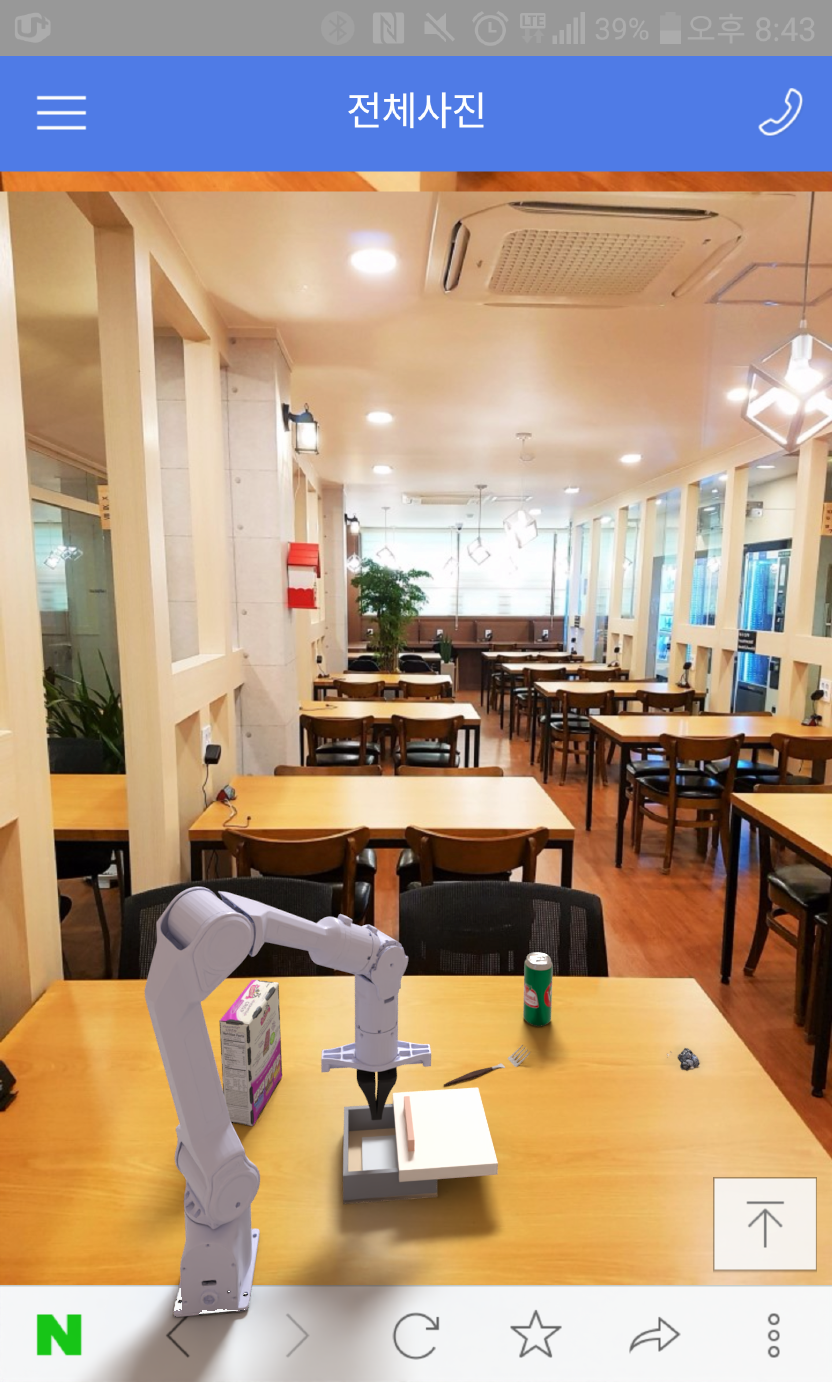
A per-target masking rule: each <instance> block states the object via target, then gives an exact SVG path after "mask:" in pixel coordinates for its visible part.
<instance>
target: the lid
mask: <svg viewBox="0 0 832 1382" xmlns="http://www.w3.org/2000/svg"><path fill="white" fill-rule="evenodd" d="M392 1104H393V1106H394V1118H395V1130H396V1142H397V1155H398V1167H399V1182H405V1181H418V1180H432V1179H437V1180H442V1179H443V1180H444V1179H455V1178H457V1179H458V1178H467V1177H468V1178H469V1177H483V1176H497V1175H498V1171H499V1170H498V1169H499V1168H498V1167H499V1162H498V1159H497V1156H496V1151H495V1148H494V1144H493V1139H492V1136H491V1132H490V1129H489V1125H488V1121H487V1117H486V1116H487V1115H486V1113H485V1109H484V1105H483V1102H482V1097H481V1094H480V1089H479V1087H468V1088H467V1087H466V1088H465V1087H464V1088H451V1089H449V1088H448V1089H434V1090H417V1091H402V1092H401V1091H400V1092H392Z"/></svg>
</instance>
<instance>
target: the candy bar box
mask: <svg viewBox="0 0 832 1382" xmlns="http://www.w3.org/2000/svg"><path fill="white" fill-rule="evenodd" d="M279 984H280V983H279V982H277V981H276V982H275V981H267V980H260V979H251V980H250V982H248V984H247V985H246V987H245V988H244V989H243V990H242V992H241V993H240V994H239V995H238V997H237V998H236V999H235V1000H234V1002H233V1003H232V1004H231V1005H230V1006H229V1008H228V1009H227V1010H226V1012H224V1014H223V1016H221V1018H220V1019H219V1037H220V1039H219V1041H220V1057H221V1059H220V1061H221V1072H222V1073H221V1074H222V1075H221V1076H222V1089H223V1093H224V1097H225V1101H226V1105H227V1109H228V1113H229V1117H230V1121H231V1123H232V1122H233V1123H232V1124H237V1123H238V1124H239V1125H243V1124H244V1126H249V1127H253V1126H255V1125H256V1123H257V1120H258V1118H259V1117H260V1115H261V1113H263V1112H262V1111H263V1110H264V1108H265V1107H266V1105H267V1103H268V1101H269V1100H270V1098H271V1096H272V1095H273V1093H274V1091H275V1089H276V1087H277V1086H278V1084H279V1083H280V1081H281V1079H282V1077H283V1065H282V1063H283V1062H282V1040H281V1039H282V1037H281V1015H280V1014H281V1013H280V1012H281V1011H280V986H279Z"/></svg>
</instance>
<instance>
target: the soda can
mask: <svg viewBox="0 0 832 1382" xmlns="http://www.w3.org/2000/svg"><path fill="white" fill-rule="evenodd" d="M523 967H524V969H523V971H524V972H523V973H524V975H523V1006H522V1007H523V1009H522V1010H523V1011H522V1012H523V1013H522V1015H523V1019H524V1020H525V1021H526V1022H527V1024H529V1025H531V1026H533V1027H545V1026H546V1025H548V1024H549V1023H550V1022H551V1020H552V1007H553V1005H552V1002H553V1001H552V1000H553V973H554V972H553V969H554V968H553V967H554V966H553V962H552V959H551V957H550V956H549V955H548V954H546V953H543V952H531V953H529V954H527V956H526V959H525V960H524V966H523Z"/></svg>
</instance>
